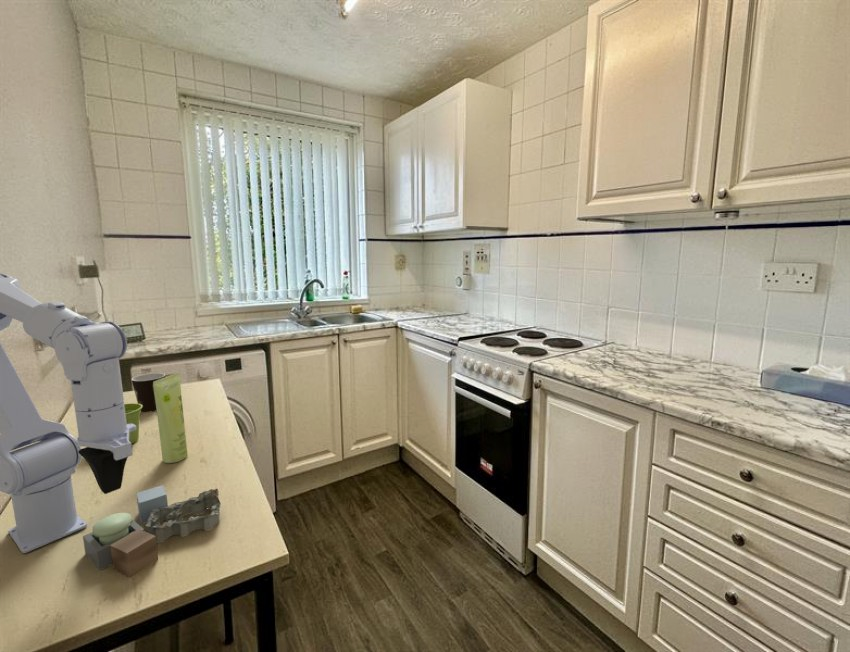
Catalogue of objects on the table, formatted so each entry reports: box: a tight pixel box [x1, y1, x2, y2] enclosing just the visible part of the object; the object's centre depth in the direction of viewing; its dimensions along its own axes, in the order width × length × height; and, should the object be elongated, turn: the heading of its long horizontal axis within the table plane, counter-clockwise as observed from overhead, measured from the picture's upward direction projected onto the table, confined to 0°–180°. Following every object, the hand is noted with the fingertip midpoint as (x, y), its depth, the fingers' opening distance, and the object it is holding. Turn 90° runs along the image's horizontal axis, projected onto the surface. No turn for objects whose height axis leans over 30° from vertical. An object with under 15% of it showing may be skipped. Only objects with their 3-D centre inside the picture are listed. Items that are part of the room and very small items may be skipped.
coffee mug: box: [131, 372, 166, 413], centre depth 124 cm, size 12×9×10 cm
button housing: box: [82, 519, 145, 571], centre depth 63 cm, size 6×6×3 cm
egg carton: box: [145, 488, 222, 544], centre depth 69 cm, size 11×8×4 cm
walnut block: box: [110, 529, 159, 579], centre depth 60 cm, size 4×4×4 cm
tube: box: [153, 371, 188, 464], centre depth 91 cm, size 6×5×20 cm
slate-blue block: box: [136, 484, 169, 525], centre depth 72 cm, size 4×4×4 cm
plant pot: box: [124, 402, 143, 445], centre depth 101 cm, size 9×9×9 cm
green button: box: [92, 512, 133, 546], centre depth 63 cm, size 5×5×4 cm
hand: (111, 489), depth 62 cm, fingers closed
